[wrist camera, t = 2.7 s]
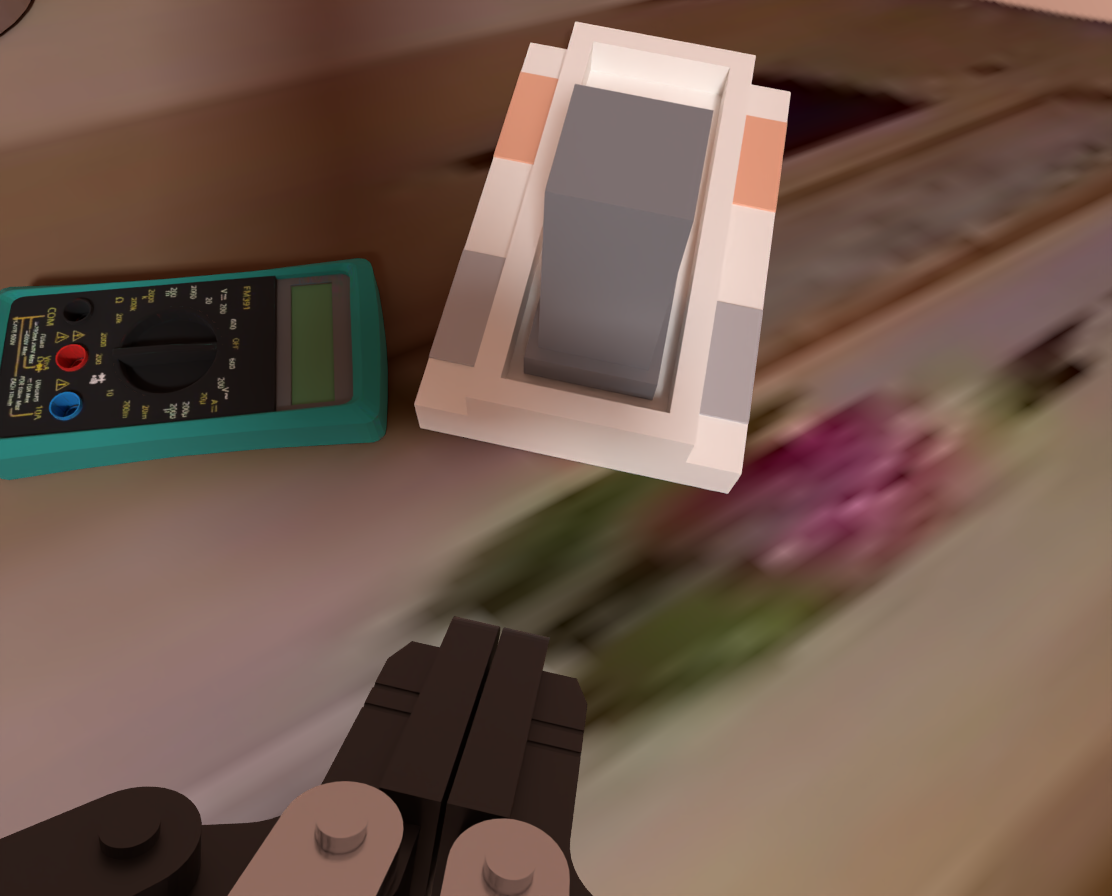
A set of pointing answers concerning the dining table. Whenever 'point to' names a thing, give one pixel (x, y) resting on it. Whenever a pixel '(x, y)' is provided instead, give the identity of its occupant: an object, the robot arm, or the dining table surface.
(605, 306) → the slider tab
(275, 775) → the dining table surface
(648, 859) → the dining table surface
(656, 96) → the switch housing
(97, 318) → the digital multimeter
